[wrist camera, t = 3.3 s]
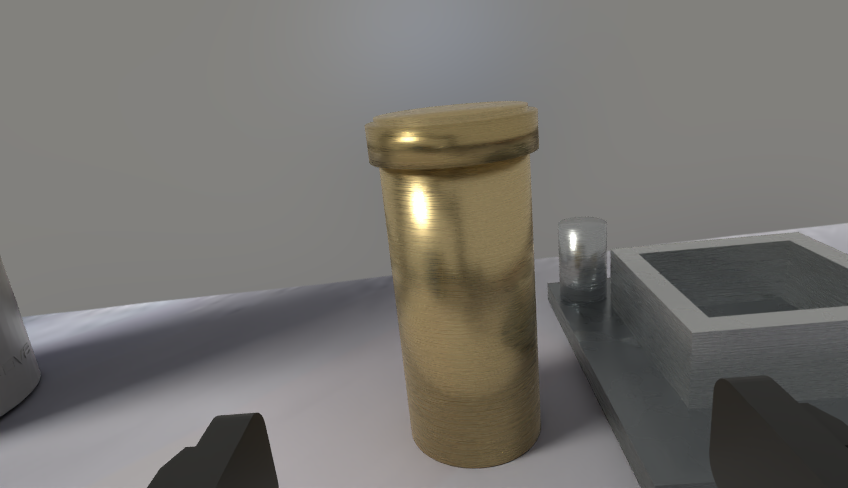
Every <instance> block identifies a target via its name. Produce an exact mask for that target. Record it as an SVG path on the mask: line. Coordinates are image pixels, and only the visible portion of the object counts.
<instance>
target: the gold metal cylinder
mask: <svg viewBox="0 0 848 488" xmlns="http://www.w3.org/2000/svg"><path fill="white" fill-rule="evenodd" d="M373 121H374V122H370V123H368V124H366V125H365V132H366V139H367V147H368V155H369V163H370V164H371V165H373V166H375V167H379V170H380V178H381V186H382V194H383V202H384V210H385V217H386V226H387V234H388V242H389V250H390V259H391V267H392V275H393V283H394V291H395V299H396V307H397V315H398V323H399V331H400V339H401V347H402V356H403V364H404V372H405V380H406V388H407V396H408V404H409V412H410V420H411V428H412V435H413V439H414V441H415V443H416V444H417V446H418V447H419V448H420V449H421V450H422V451H423V452H424V453H425V454H426V455H428V456H429V457H431V458H433V459H435V460H436V461H439V462H441V463H444V464H448V465H451V466H457V467H464V468H483V467H491V466H496V465H500V464H503V463H506V462H509V461H511V460H514V459H516V458H517V457H519V456H521V455H523V454H524V453H525V452H527V451H528V450H529V449H530V448H531V447H532V446H533V445H534V443H535V442H536V441H537V439H538V437H539V434H540V430H541V419H540V394H539V370H538V345H537V320H536V296H535V271H534V248H533V222H532V198H531V173H530V153H532V152H534V151H536V150H537V149H538V148H539V138H538V137H539V136H538V109H537V108H535V107H528V103H527V102H521V101H498V102H480V103H466V104H455V105H445V106H435V107H427V108H419V109H412V110H405V111H398V112H393V113H388V114H383V115H379V116H376V117H374V118H373Z"/></svg>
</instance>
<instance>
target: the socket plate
mask: <svg viewBox="0 0 848 488" xmlns="http://www.w3.org/2000/svg"><path fill="white" fill-rule="evenodd" d="M558 239H559V275H560V282H558V283H548V300H549V302H550V304H551V306H552V308H553V310H554V312H555V314H556V316H557V318H558V320H559V322H560V324H561V326H562V328H563V331H564V333H565V335H566V337H567V339H568V341H569V343H570V345H571V347H572V349H573V351H574V353H575V355H576V357H577V359H578V361H579V363H580V365H581V367H582V369H583V371H584V373H585V375H586V377H587V379H588V381H589V383H590V385H591V387H592V389H593V391H594V393H595V395H596V397H597V399H598V401H599V403H600V405H601V407H602V409H603V411H604V413H605V415H606V417H607V419H608V421H609V423H610V425H611V427H612V429H613V431H614V433H615V436H616V438H617V440H618V442H619V444H620V446H621V448H622V450H623V452H624V454H625V456H626V458H627V460H628V462H629V464H630V466H631V468H632V470H633V472H634V474H635V476H636V478H637V480H638V482H639V484H640V486H641V488H718V487H717V485H716V483H715V480H714V477H713V474H712V471H711V466H710V460H709V447H710V433H711V418H712V404H713V391H714V386H715V383H716V381H717V380H718V379H721V378H733V377H746V376H759V375H766V376H769V377H771V378H772V379H773V380H774V381H775V382H777V383H778V384H779V385H780V386H781V387H782V388H783V389H784V390H785V391H786V392H787V393H788V394H790V395H791V396H792V397H793V398H794V399H795V400H796V401H797V402H798V403H809V404H811V405H813V406H815V407H816V408H818V409H820V410H822V411H824V412H826V413H828V414H830V415H832V416H834V417H836V418H838V419H839V420H841V421H843V422H844V423H845V424H846V425H847V426H848V255H847V254H845V253H843V252H841V251H839V250H836V249H834V248H832V247H830V246H828V245H825V244H823V243H821V242H819V241H816V240H814V239H812V238H810V237H808V236H805V235H803V234H801V233H799V232H795V233H784V234H773V235H762V236H751V237H740V238H728V239H717V240H706V241H695V242H684V243H673V244H661V245H650V246H639V247H628V248H617V249H611V278H607V222H606V221H605V220H603V219H599V218H594V217H574V218H568V219H564V220H562V221H560V222H559V223H558Z"/></svg>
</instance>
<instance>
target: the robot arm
mask: <svg viewBox="0 0 848 488" xmlns="http://www.w3.org/2000/svg"><path fill="white" fill-rule="evenodd" d="M40 376H41V372H40V369H39V366H38V363H37V360H36V357H35V354H34V352H33V349H32V346H31V343H30V340H29V337H28V334H27V332H26V329H25V326H24V323H23V320H22V317H21V315H20V312H19V309H18V306H17V302H16V299H15V296H14V293H13V291H12V288H11V285H10V282H9V279H8V276H7V274H6V271H5V268H4V265H3V262H2V259H1V256H0V416H2V415H4V414H5V413H6V412H8V411H9V410H11V409H12V408H13V407H15V406H16V405H18V404H19V403H20V402H21V401H22V400H24V399H25V398H26V397H27V396H28V395H29V394H30V393H31V392H32V391H33V390H34V388H35V387H36V385H37V384H38V383H39V381H40ZM709 460H710V466H711V471H712V474H713V477H714V480H715V483H716V485H717V487H718V488H848V426H847V425H846V424H845V423H844V422H843V421H841V420H839V419H838V418H836V417H834V416H832V415H830V414H828V413H826V412H824V411H822V410H820V409H818V408H816V407H815V406H813V405H811V404H809V403H798V402H797V401H796V400H795V399H794V398H793V397H792V396H791V395H790V394H788V393H787V392H786V391H785V390H784V389H783V388H782V387H781V386H780V385H779V384H778V383H777V382H775V381H774V380H773V379H772V378H771V377H769V376H766V375H759V376H746V377H733V378H721V379H718V380H717V381H716V383H715V386H714V391H713V404H712V418H711V433H710V447H709ZM147 488H279V486H278V480H277V475H276V471H275V466H274V462H273V457H272V453H271V448H270V443H269V439H268V434H267V430H266V425H265V422H264V419H263V417H262V415H261V414H260V413H247V414H234V415H221V416H216V417H215V418H214V419H213V420H212V421H211V423H210V425H209V426H208V428H207V429H206V431H205V433H204V434H203V436H202V437H201V439H200V441H199V442H198V444H197V445H196V446H195V447H185V448H184V449H183V450H182V451H180V452H179V453H178V454H177V455H176V456H175V457H173V458H172V459H171V460H170V461H169V462H167V463H166V464H165V465H164V466H163V467H161V468H160V469H159V471H158V472H157V474H156V475H155V477H154V478H153V480H152V481H151V483H150V484H149V486H148V487H147Z"/></svg>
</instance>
